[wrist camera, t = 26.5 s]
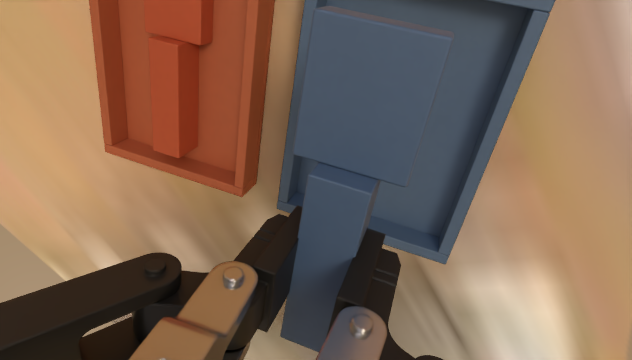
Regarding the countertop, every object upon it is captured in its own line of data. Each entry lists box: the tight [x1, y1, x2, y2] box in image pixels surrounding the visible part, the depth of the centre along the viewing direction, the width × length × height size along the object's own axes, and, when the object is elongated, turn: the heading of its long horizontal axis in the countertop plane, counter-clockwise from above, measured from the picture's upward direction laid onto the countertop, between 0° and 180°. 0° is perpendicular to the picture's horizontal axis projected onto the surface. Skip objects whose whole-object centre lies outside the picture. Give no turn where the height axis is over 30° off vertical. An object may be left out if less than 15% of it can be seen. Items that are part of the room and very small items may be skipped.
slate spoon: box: [281, 6, 454, 352], centre depth 12 cm, size 10×3×2 cm, turn 170°
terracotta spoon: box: [144, 0, 214, 158], centre depth 22 cm, size 10×3×2 cm, turn 170°
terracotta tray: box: [89, 0, 275, 197], centre depth 22 cm, size 13×10×2 cm
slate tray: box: [277, 0, 555, 264], centre depth 20 cm, size 13×10×2 cm
